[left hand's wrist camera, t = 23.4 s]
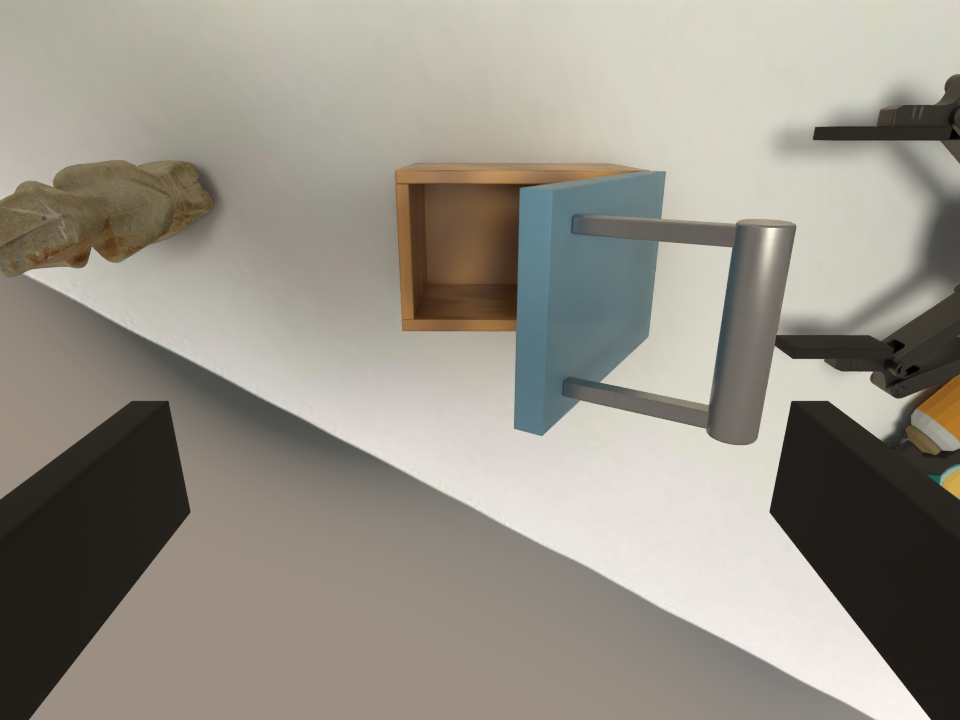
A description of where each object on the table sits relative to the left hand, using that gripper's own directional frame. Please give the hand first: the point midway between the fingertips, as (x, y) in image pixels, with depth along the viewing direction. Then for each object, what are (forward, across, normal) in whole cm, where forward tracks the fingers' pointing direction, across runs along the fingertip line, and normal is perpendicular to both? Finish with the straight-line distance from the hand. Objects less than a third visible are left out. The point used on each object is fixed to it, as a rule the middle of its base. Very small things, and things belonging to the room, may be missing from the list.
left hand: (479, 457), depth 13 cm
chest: (+34, +2, 0) cm, 34 cm away
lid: (+17, +5, 0) cm, 18 cm away
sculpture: (+34, -23, +2) cm, 41 cm away
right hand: (+27, +21, 0) cm, 34 cm away
